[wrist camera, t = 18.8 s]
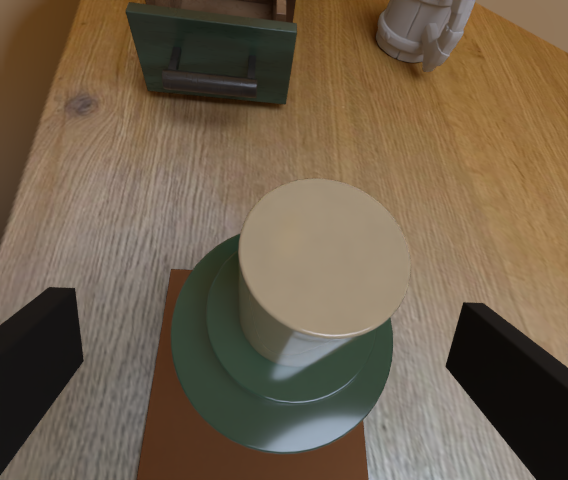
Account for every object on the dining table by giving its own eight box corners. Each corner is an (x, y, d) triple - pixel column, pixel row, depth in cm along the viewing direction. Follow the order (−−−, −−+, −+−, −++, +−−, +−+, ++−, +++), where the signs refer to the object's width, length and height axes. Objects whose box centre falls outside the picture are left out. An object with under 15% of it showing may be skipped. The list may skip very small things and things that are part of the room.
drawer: (285, 138, 30) (298, 68, 24) (138, 125, 29) (111, 48, 22) (285, 13, 38) (294, -62, 32) (172, -1, 37) (159, -83, 31)
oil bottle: (194, 416, 20) (3, 448, 4) (222, 309, 23) (186, 69, 7) (303, 438, 20) (570, 557, 4) (317, 328, 23) (500, 140, 7)
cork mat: (136, 494, 18) (133, 496, 18) (172, 271, 24) (170, 268, 24) (366, 489, 20) (369, 490, 19) (348, 279, 26) (350, 276, 25)
